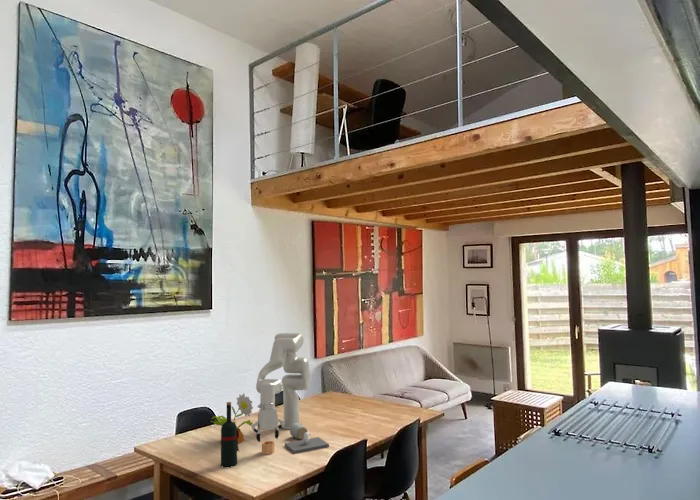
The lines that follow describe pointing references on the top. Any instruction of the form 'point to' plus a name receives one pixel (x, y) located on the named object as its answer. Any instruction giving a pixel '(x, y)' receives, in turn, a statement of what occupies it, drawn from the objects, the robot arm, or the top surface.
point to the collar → (268, 447)
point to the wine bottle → (229, 441)
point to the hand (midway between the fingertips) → (267, 439)
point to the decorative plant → (245, 408)
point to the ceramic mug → (298, 431)
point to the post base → (306, 444)
